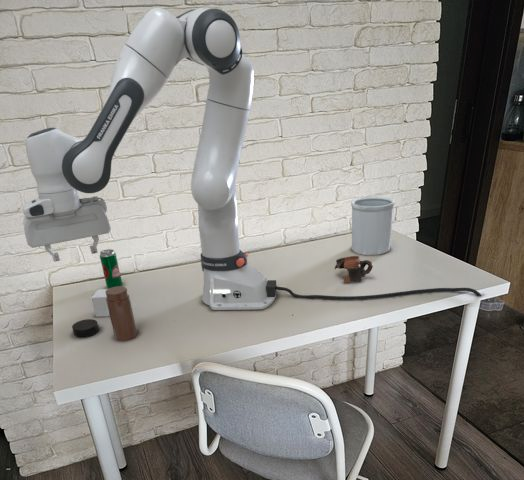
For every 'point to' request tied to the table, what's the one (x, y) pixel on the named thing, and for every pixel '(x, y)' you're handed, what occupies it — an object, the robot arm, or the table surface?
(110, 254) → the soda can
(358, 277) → the pottery mug
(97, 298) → the white cube
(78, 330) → the lid
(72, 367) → the table surface
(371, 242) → the utensil holder
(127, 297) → the coffee jar
